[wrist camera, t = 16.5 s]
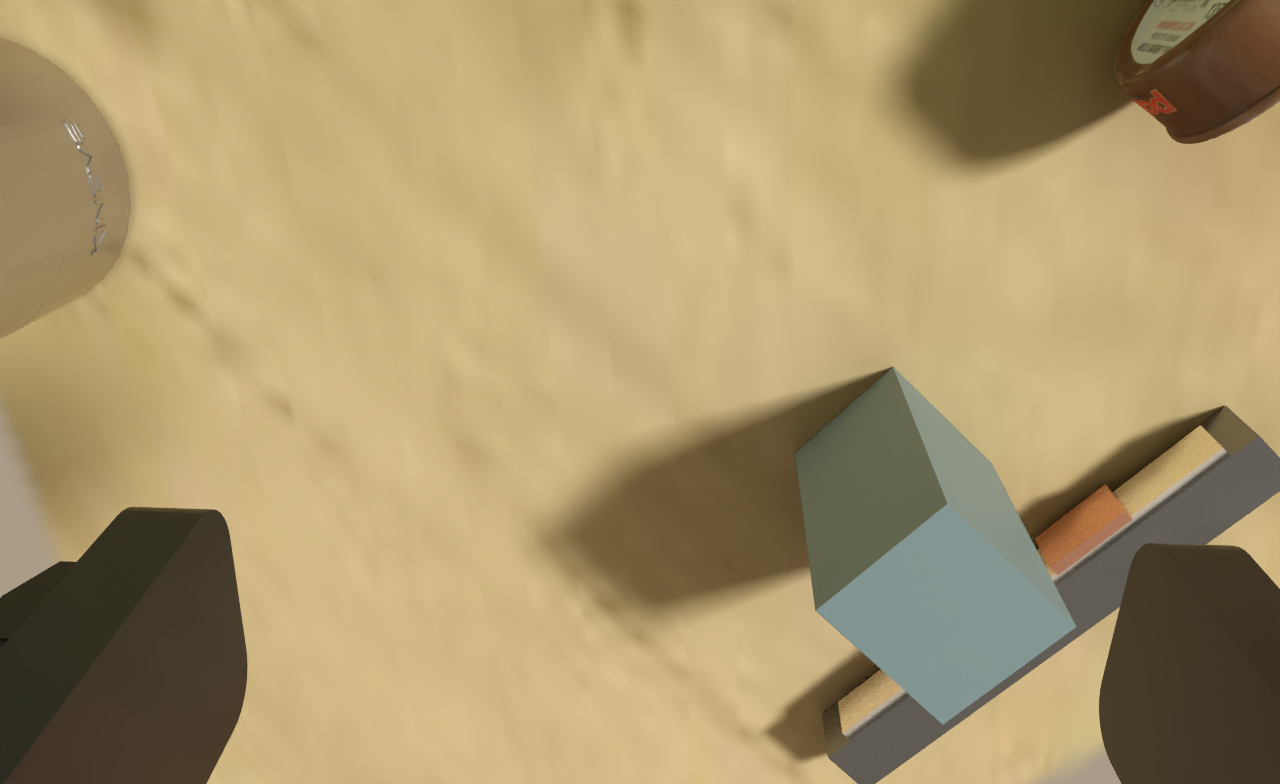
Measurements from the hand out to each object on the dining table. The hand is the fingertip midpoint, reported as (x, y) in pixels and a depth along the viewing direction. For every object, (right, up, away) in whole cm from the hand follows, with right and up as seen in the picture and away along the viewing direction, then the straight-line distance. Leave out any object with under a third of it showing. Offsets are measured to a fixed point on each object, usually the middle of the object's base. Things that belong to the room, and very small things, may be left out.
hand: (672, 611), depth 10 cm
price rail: (+14, -5, +30) cm, 33 cm away
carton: (+8, 0, +28) cm, 30 cm away
